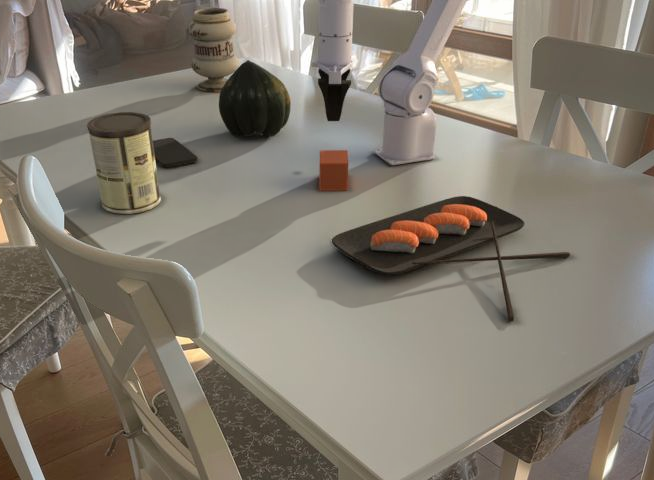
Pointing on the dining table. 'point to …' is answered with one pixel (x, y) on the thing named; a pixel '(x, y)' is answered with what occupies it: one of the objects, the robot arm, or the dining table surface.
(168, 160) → the phone
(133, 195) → the coffee can
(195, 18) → the apothecary jar
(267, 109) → the squash
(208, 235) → the dining table surface
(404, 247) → the sushi plate
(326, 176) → the orange open-ended box
